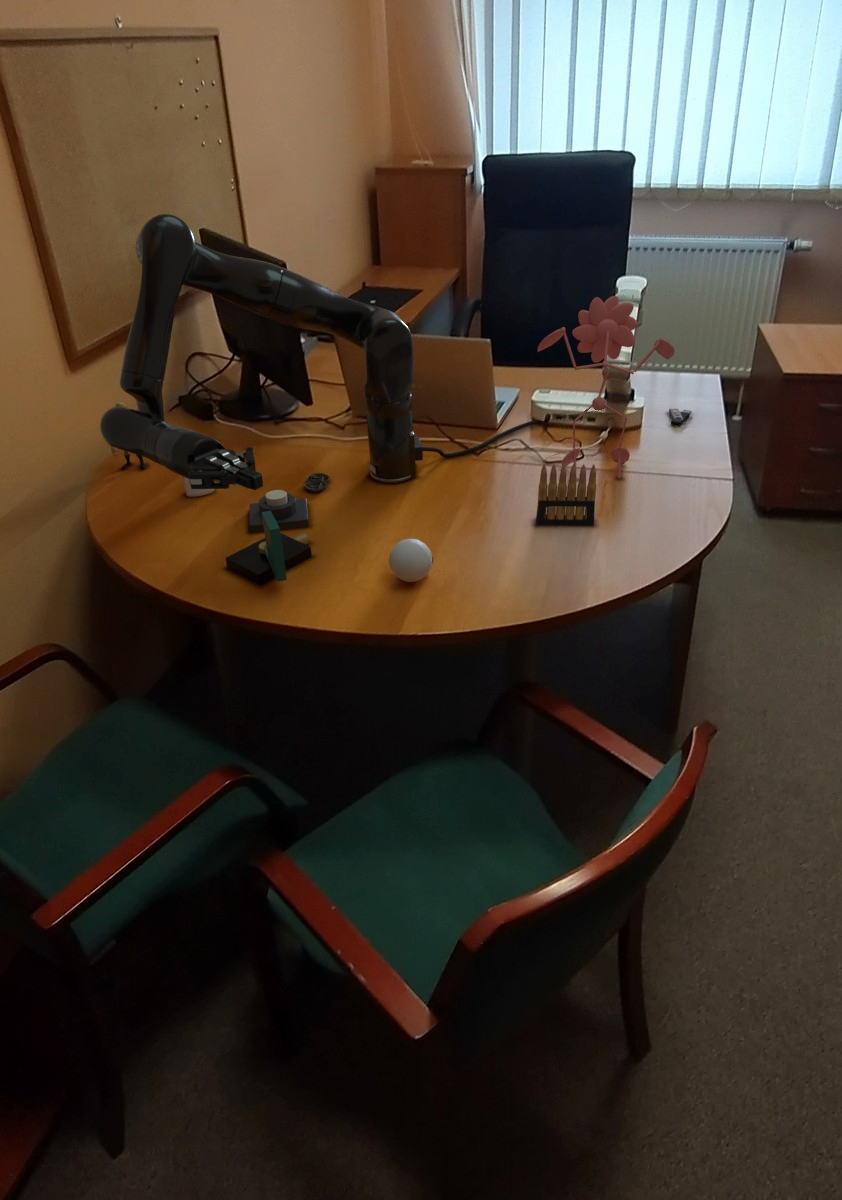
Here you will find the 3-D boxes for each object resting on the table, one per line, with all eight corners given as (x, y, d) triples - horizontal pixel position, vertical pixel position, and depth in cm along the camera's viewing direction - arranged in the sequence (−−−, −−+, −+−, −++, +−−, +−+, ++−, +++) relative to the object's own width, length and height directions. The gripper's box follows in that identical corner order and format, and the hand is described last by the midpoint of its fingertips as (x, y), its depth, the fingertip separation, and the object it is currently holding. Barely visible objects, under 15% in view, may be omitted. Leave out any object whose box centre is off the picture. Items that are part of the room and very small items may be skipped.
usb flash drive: (680, 426, 194) (680, 422, 193) (657, 422, 196) (658, 418, 196) (692, 414, 200) (692, 410, 199) (670, 410, 202) (671, 406, 202)
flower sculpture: (661, 479, 172) (687, 303, 152) (535, 483, 172) (544, 308, 153) (644, 448, 185) (665, 282, 165) (526, 452, 185) (534, 287, 165)
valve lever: (257, 547, 149) (249, 497, 143) (274, 544, 150) (267, 494, 144) (273, 583, 139) (265, 530, 134) (291, 579, 140) (283, 526, 134)
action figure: (110, 470, 184) (93, 404, 175) (116, 463, 187) (100, 398, 178) (153, 470, 183) (138, 404, 175) (158, 463, 186) (143, 398, 178)
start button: (287, 496, 163) (286, 488, 162) (288, 506, 159) (286, 498, 158) (266, 498, 162) (265, 490, 161) (266, 508, 159) (265, 500, 158)
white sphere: (436, 588, 141) (435, 550, 137) (392, 592, 140) (390, 554, 136) (428, 557, 149) (427, 521, 145) (386, 561, 149) (384, 525, 145)
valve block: (290, 535, 157) (288, 525, 156) (323, 550, 152) (322, 540, 151) (227, 568, 148) (225, 557, 147) (260, 585, 143) (258, 574, 142)
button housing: (307, 505, 167) (304, 487, 165) (309, 527, 160) (306, 508, 158) (251, 511, 166) (248, 493, 164) (250, 533, 159) (247, 514, 156)
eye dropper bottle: (209, 498, 171) (198, 443, 164) (183, 497, 172) (171, 442, 165) (216, 488, 175) (206, 434, 168) (191, 487, 176) (180, 433, 169)
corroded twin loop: (302, 494, 171) (302, 489, 171) (307, 477, 178) (306, 472, 177) (327, 493, 171) (327, 488, 170) (330, 476, 178) (330, 471, 177)
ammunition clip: (536, 525, 158) (539, 466, 151) (535, 520, 159) (538, 462, 153) (593, 525, 157) (599, 466, 150) (593, 521, 159) (598, 462, 152)
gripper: (150, 446, 130) (219, 475, 121) (218, 419, 138) (288, 445, 129) (160, 489, 135) (228, 521, 125) (226, 461, 143) (294, 489, 133)
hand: (258, 482), depth 127 cm, fingers closed
